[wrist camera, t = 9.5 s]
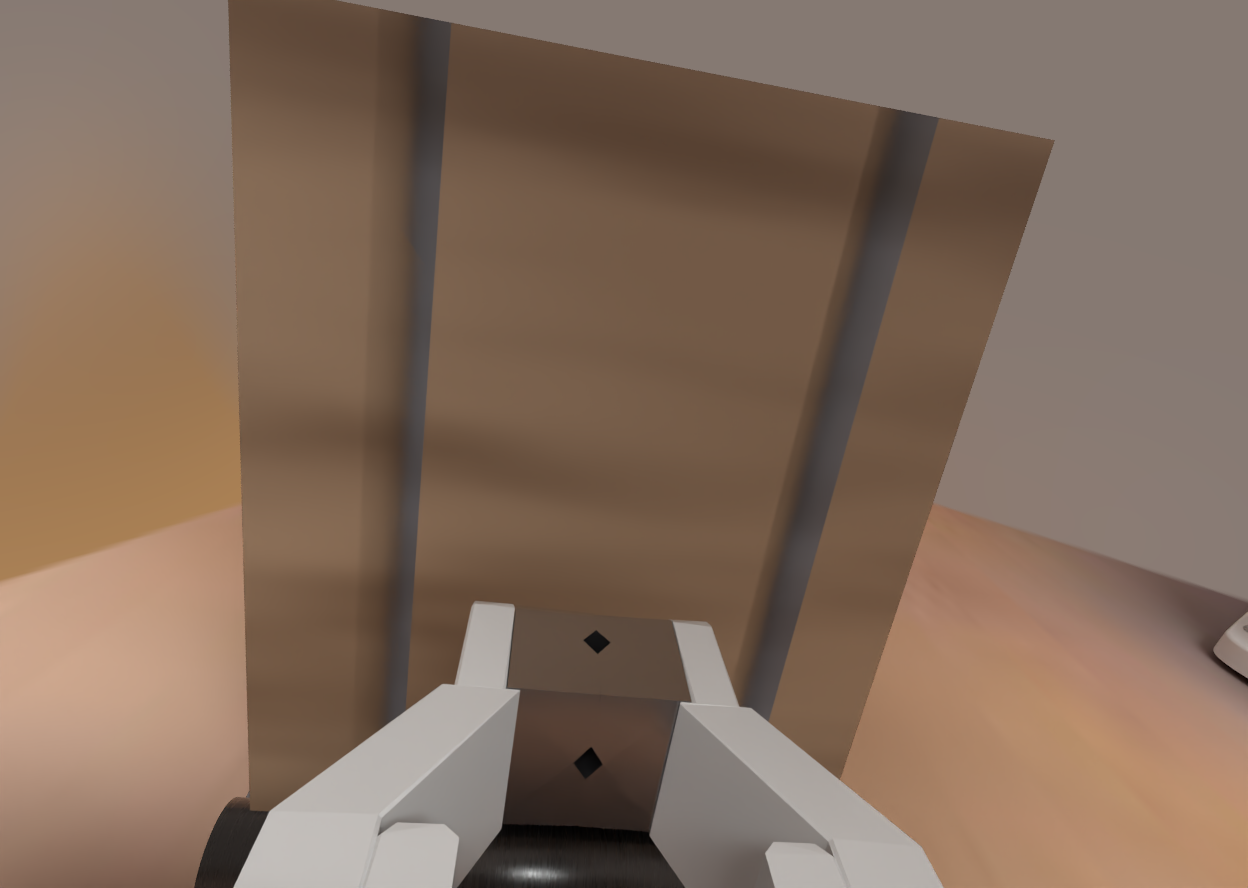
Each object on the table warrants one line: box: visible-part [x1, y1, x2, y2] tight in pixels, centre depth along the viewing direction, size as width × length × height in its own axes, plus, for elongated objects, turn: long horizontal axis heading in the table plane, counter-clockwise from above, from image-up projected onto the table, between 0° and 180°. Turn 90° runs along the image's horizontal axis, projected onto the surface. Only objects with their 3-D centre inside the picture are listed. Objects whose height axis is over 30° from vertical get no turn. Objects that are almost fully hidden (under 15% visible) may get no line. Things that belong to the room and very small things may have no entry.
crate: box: [228, 0, 1054, 811], centre depth 14 cm, size 8×10×12 cm
